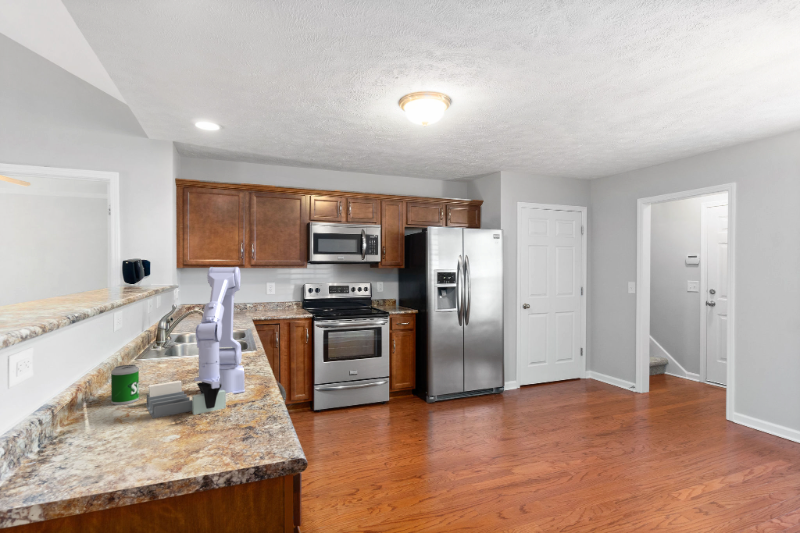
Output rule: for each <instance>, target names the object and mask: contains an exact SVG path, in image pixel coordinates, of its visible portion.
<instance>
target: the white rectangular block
mask: <svg viewBox="0 0 800 533" xmlns="http://www.w3.org/2000/svg"><path fill="white" fill-rule="evenodd" d="M182 385H183V382H182V381H181V380H175V381H169V382H163V383H155V384H149V385H148V394H149V397H153V396H159V395H164V394H170V393H176V392H182V391H183V390H182V388H183V386H182Z"/></svg>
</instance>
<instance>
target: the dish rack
mask: <svg viewBox="0 0 800 533" xmlns="http://www.w3.org/2000/svg"><path fill="white" fill-rule="evenodd" d="M190 398H191V397H190V396H188V394H187V393H185V391H184V390H182V392H176V393H170V394H164V395H159V396H153V397H149V393H146V403H145V404H144V405H145V408H146V409H147V411H148V413H149V414H150V416H151V418H152V419H158V418H163V417H168V416H173V415H178V414H183V413H187V412H188V413H189V412H192V399H190Z"/></svg>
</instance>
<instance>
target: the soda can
mask: <svg viewBox="0 0 800 533" xmlns="http://www.w3.org/2000/svg"><path fill="white" fill-rule="evenodd" d="M139 373H140V369H139V367H138V366H137V365H136V364H123V365H118V366H115V367H114V368H113V369H112V370H111V371H110V374H111V376H110V378H111V381H110V382H111V384H110V387H111V390H110V391H111V392H110V393H111V395H110V396H111V398H110V400H111V401H110V402H111V404H112V405H115V406H116V405H117V406H122V405H130V404H133V403H136V402H137V401H138V400H139V399H140V374H139Z"/></svg>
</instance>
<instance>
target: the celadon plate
mask: <svg viewBox="0 0 800 533" xmlns="http://www.w3.org/2000/svg"><path fill="white" fill-rule="evenodd" d="M226 394H227V393H226V391H225V390H220V391H219V392H218V395H217V398H216V403H215V407H214V408H209V409H207V408H206V404H205V398H204V394H201V393H200V394H199V393H198V394H193V395H192V399H191V400H192V411H191V412H192V415H194V416H195V415H199V414H205V413H208V412H212V413H211V414H214V411H218V410H219V411H220V410H223V409H226V408H227V407H226V406H227V402H226V400H227V395H226Z"/></svg>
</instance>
